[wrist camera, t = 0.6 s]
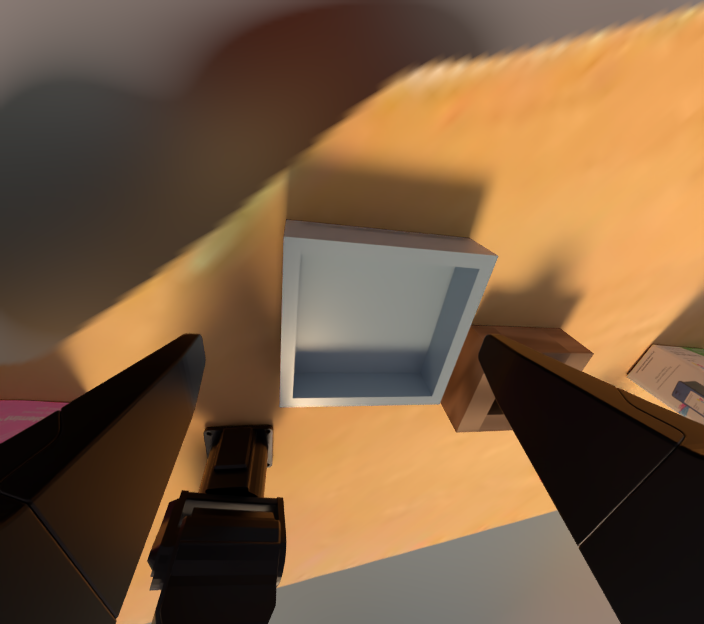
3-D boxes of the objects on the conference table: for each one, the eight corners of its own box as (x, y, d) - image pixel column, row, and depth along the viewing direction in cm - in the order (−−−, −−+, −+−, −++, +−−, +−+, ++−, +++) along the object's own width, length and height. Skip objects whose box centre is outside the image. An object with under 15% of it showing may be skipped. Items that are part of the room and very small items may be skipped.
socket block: (519, 400, 35) (542, 428, 31) (440, 401, 33) (456, 432, 29) (560, 328, 30) (593, 353, 26) (470, 325, 28) (493, 351, 24)
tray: (423, 373, 30) (439, 404, 27) (281, 373, 27) (279, 407, 24) (469, 238, 23) (498, 255, 20) (286, 219, 21) (283, 236, 17)
